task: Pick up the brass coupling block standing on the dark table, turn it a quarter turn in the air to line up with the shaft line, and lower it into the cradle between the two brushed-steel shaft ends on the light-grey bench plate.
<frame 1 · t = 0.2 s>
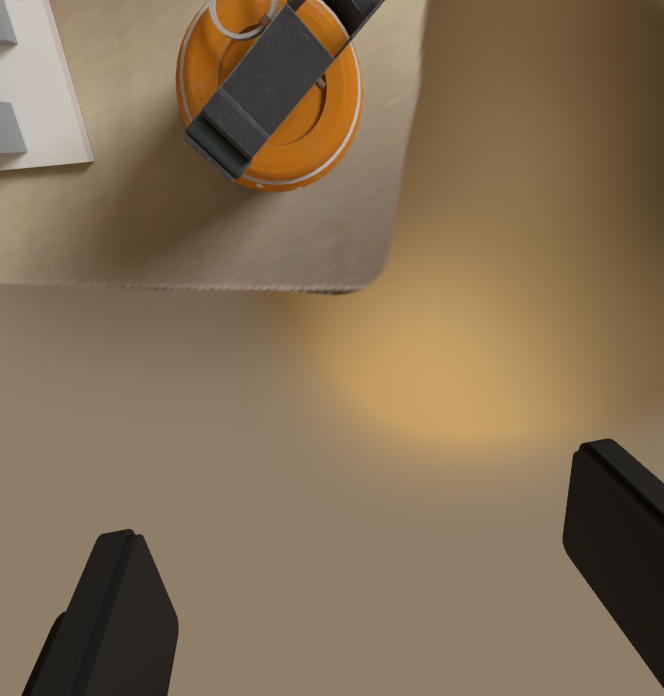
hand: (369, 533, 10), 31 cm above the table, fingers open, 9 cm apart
canister: (280, 98, 33), on the table
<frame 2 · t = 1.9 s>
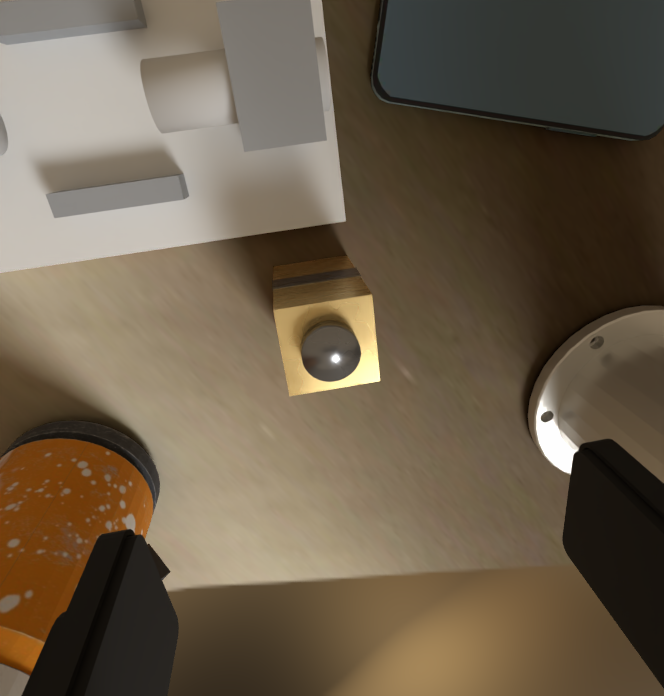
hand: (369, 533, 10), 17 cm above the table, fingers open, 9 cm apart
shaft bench: (110, 115, 21), on the table
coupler: (315, 295, 25), on the table
canister: (103, 481, 29), on the table
smartphone: (527, 38, 22), on the table
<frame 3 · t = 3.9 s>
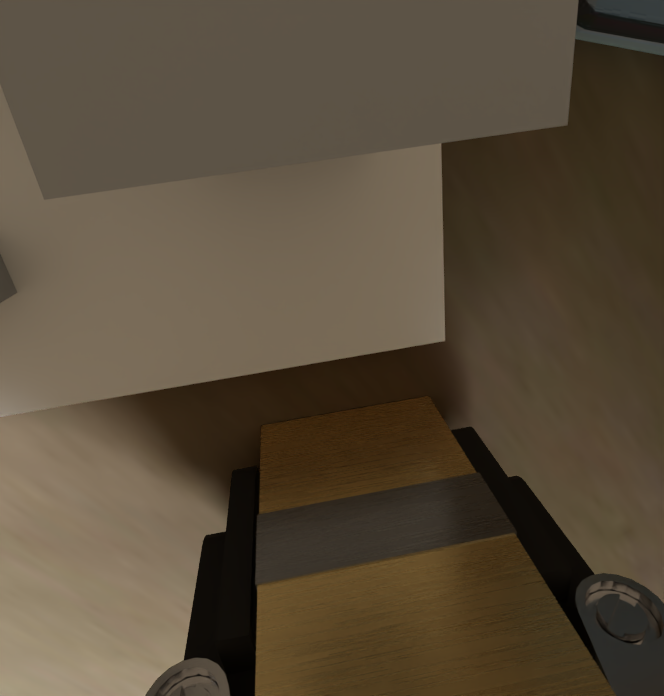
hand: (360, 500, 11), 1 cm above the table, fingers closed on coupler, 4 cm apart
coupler: (354, 476, 12), on the table, touching gripper
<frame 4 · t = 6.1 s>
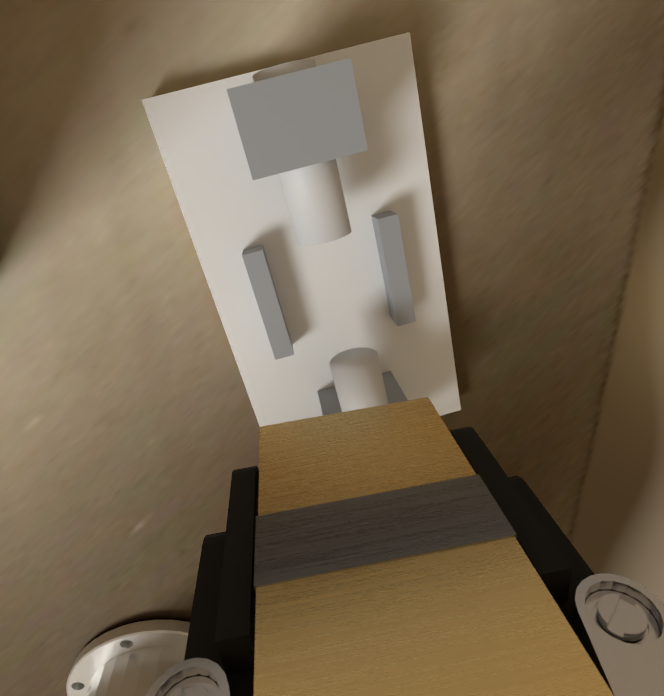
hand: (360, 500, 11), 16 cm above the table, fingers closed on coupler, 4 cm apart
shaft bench: (327, 277, 25), on the table
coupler: (353, 477, 12), point 15 cm above the table, touching gripper
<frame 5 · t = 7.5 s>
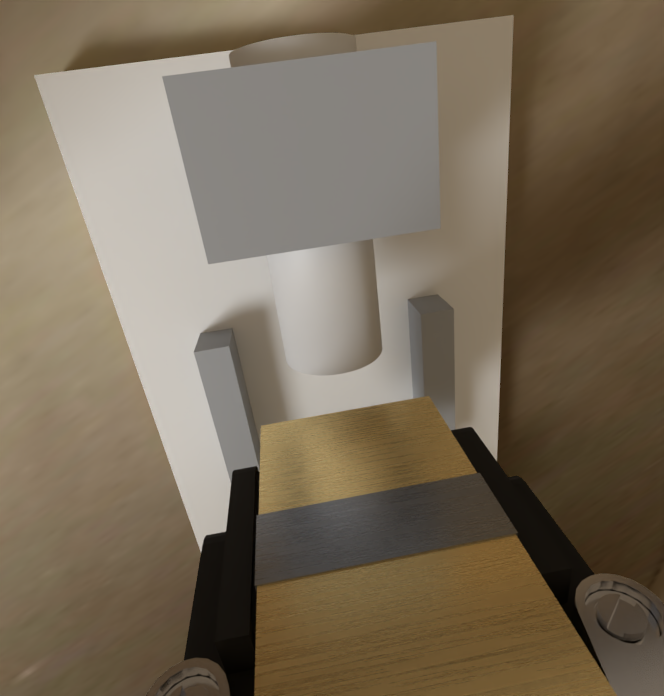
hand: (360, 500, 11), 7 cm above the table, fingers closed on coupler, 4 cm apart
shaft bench: (327, 373, 17), on the table
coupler: (354, 476, 12), point 6 cm above the table, touching gripper
when the fingers open (4 cm above the table, at t = 8.3 s): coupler drops 2 cm, resting on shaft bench.
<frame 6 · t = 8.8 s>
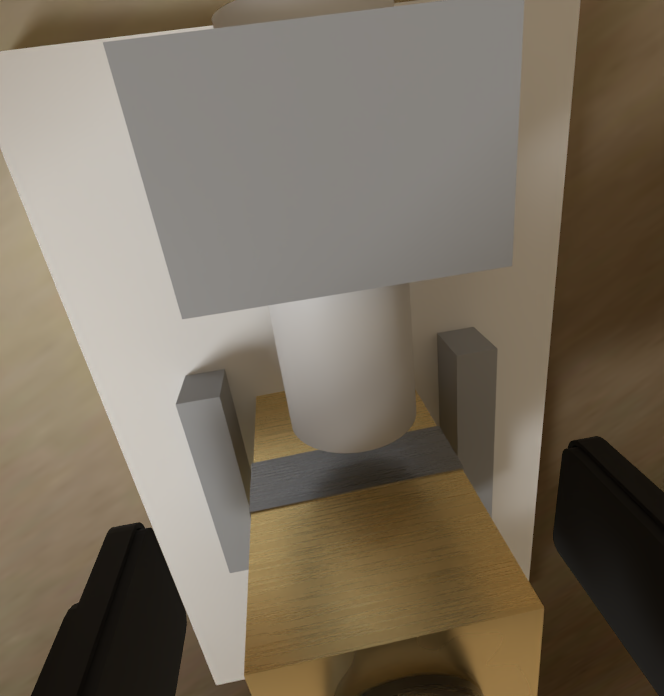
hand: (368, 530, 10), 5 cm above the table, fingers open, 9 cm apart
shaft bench: (338, 415, 14), on the table
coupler: (340, 442, 13), point 1 cm above the table, touching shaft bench
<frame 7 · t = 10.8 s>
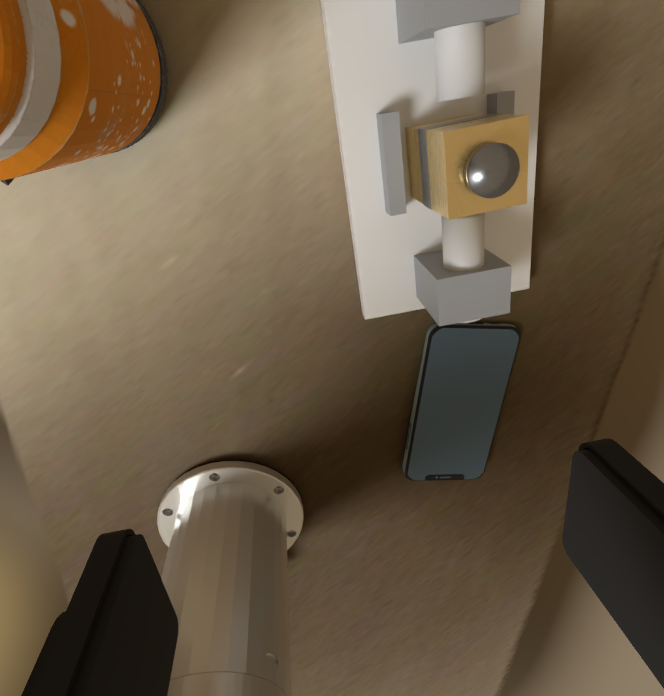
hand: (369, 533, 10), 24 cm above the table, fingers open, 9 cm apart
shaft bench: (435, 152, 29), on the table
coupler: (440, 156, 28), point 1 cm above the table, touching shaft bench
canister: (76, 80, 25), on the table
smartphone: (453, 399, 39), on the table
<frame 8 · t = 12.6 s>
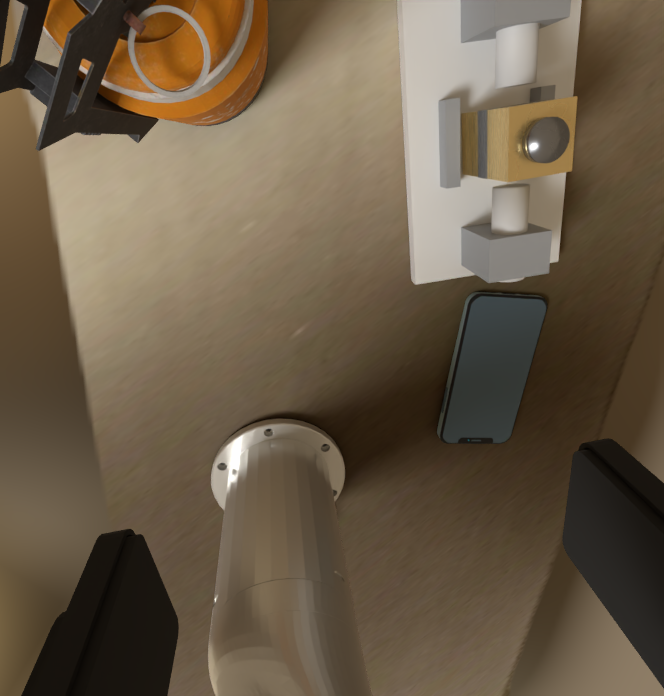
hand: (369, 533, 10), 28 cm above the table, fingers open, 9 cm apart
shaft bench: (483, 138, 34), on the table
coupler: (488, 140, 33), point 1 cm above the table, touching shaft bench
canister: (188, 63, 30), on the table
smartphone: (484, 367, 43), on the table
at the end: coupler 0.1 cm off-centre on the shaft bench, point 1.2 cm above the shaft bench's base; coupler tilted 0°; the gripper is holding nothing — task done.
